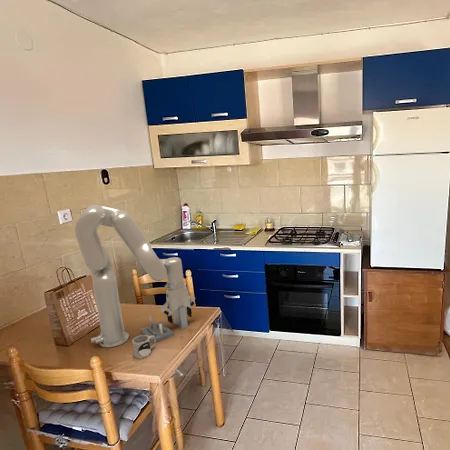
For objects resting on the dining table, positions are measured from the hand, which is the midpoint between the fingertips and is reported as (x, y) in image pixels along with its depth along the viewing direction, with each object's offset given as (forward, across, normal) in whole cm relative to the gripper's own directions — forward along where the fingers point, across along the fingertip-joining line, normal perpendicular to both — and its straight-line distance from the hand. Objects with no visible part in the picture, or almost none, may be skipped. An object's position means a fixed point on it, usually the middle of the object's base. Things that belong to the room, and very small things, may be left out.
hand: (180, 319), depth 170 cm
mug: (+3, -22, -12) cm, 25 cm away
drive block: (+3, 0, 0) cm, 3 cm away
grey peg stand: (+3, -12, 0) cm, 12 cm away
